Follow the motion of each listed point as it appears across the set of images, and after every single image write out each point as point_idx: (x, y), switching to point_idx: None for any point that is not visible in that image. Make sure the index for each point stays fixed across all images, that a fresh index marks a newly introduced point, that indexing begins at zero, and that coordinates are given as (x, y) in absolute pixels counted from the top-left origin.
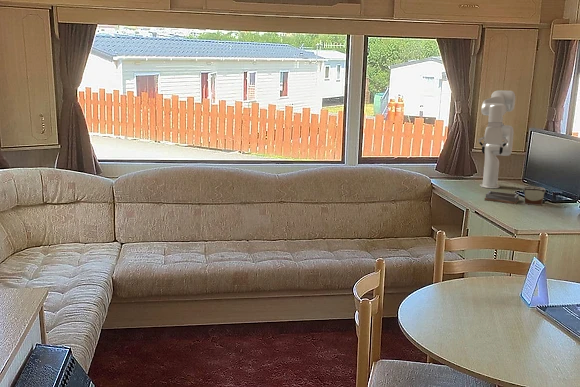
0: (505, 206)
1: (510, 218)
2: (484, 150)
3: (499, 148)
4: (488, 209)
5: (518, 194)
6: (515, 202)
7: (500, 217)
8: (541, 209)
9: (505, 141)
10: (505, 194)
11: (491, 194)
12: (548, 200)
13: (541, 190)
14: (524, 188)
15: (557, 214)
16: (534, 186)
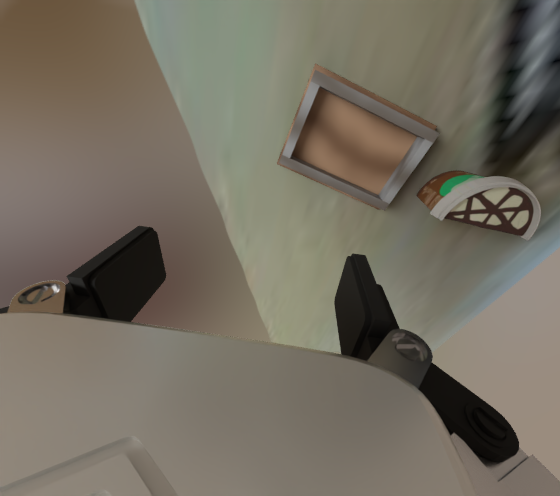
0: (326, 242)
1: (298, 338)
2: (145, 301)
3: None
4: (266, 279)
5: (435, 138)
6: (377, 208)
7: (279, 334)
8: (427, 264)
9: None
10: (380, 117)
11: (301, 164)
12: None
13: (507, 232)
14: (438, 217)
15: (438, 306)
16: (518, 188)
